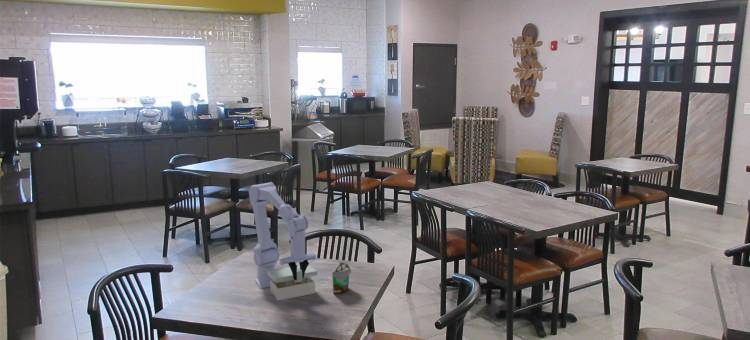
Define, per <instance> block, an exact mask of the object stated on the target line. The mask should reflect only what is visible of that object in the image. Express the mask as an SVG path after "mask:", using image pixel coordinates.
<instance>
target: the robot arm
mask: <svg viewBox="0 0 750 340" xmlns="http://www.w3.org/2000/svg"><path fill="white" fill-rule="evenodd" d="M277 188H278V187H277V186H276V185H275V184H274V182H272V181H270V182H266V183H259V184H252V185H251V186H250V187H249V190H248V195H249V196H248V197H249V201H250V202H249V203H250V205H252V211H253V216H254V222H255V229H256V235H257V241H258V243H257V244H256V246H254V248H253V262H254V263H255V265H257V266H256V271H257V272H256V275H257V277H256V279H255V283H256V284H257V285H258V286H259V288H260V289H265V288H270V280H272V279H271V278H270V277H269V276H268V273H267V271H268V270H274V269H277V268H276V265H277V263H278V261H279V265H281V266H284V265H288V267H290V269H291V271H292V274H293V279H294V280H297V266H298V265H297V263H298V264H299V265H300V270H302V279H303V278H304V274H305V271H306V268H307V267H308V265H310V264H309V261H311V260H313V261H315V260H317V254H316V253H306V230H307V229H308V227H309V221H308V218H306V216H305V215H302V214H298V212H297V211H296V210H295V209H294V208H293V207H292V206H291V205H290V204H288V203H285V201H284V200H283V199H282V197H281V196H280V195H279V194H278V189H277ZM268 202H270V203H271V204H272V205H273V206H274V207H275V208H276V209H277V210H278V215H279V216H280V217H281V218H282V220H283V221H284V222H285V223H286V228H287V231H288V235H289V237H290V238H289V239H290V255H289V256H287V257H284V258H280V255H281V254H280V251H279V250H278V246H277V244H276V243H275V242H273V241H272V240H271V233H270V227H269V221H268V214H267V209H266V205H267V204H268Z"/></svg>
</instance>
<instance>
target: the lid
mask: <svg viewBox="0 0 750 340" xmlns="http://www.w3.org/2000/svg"><path fill="white" fill-rule="evenodd" d="M267 273H268V276H269V277H270V278H271V279H272V280H273V281H274V282H275V283H277V282H282V281H288V280H294V279H293V274H292V271H291V269H290V266H286V267H281V268H280V267H279V268H276V269H274V270H268V271H267ZM315 276H318V270H316V269H315V268H313V267H312V265H310V264H309V265H308V267H307V268H306V271H305V274H304V278H305V277H310V278H311V277H315ZM295 281H297V282H300V281H303V280H302V270H300V264H299V265H297V280H295Z"/></svg>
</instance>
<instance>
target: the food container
mask: <svg viewBox="0 0 750 340" xmlns="http://www.w3.org/2000/svg"><path fill="white" fill-rule="evenodd" d="M351 273H352V269H351V266H350V265H349V264H348V263H345V262H339V265H338V267H336V269H335V271H332V273H331V274H332V288H333V289H332V290H333V291H332V292H333V295H341V294H344V293H347V292H348V291H349V284H350V282H349V281H350V274H351Z"/></svg>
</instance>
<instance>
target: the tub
mask: <svg viewBox="0 0 750 340" xmlns="http://www.w3.org/2000/svg"><path fill="white" fill-rule="evenodd" d="M302 280H303V281H300V282H297V281H295V280H288V281H282V282H277V283H275V282H274V281H273V280H270V287H269V288H270V291H269V292H270V294H272V296H273V297H274V298H275V300H276V301H283V300H288V299H294V298H298V297H303V296H308V295H313V294H316V282H315V281H314V280H313V278H312V277H311V276H310V277H305V278H303V279H302Z"/></svg>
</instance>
